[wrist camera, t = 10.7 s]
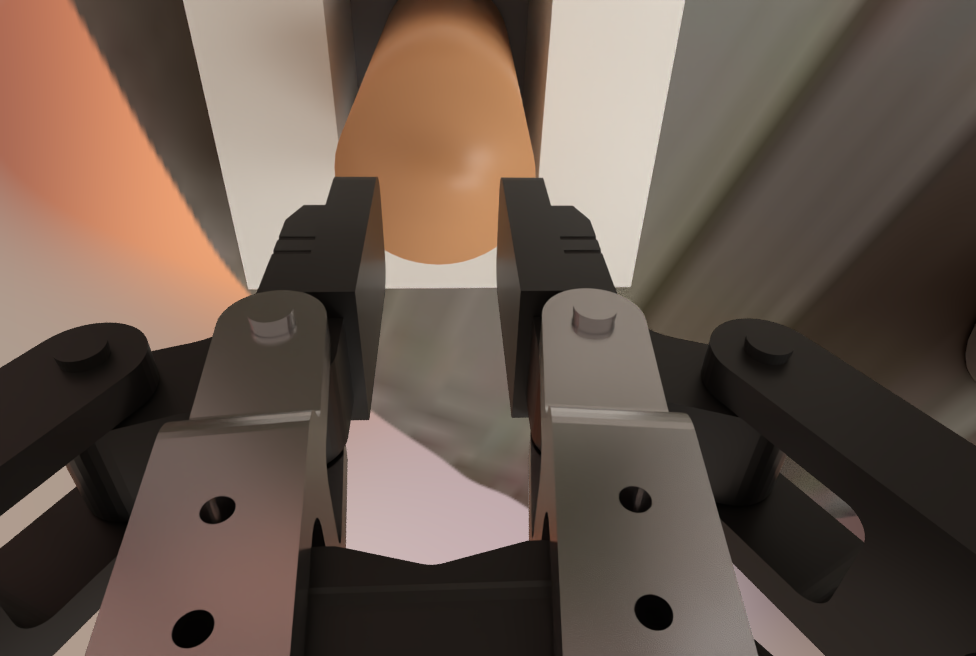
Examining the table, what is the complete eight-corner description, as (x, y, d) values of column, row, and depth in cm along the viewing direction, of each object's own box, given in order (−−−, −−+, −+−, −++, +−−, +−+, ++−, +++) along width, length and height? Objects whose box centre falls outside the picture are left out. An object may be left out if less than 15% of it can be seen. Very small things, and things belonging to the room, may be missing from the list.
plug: (510, -22, 20) (541, 76, 12) (507, 110, 23) (530, 263, 15) (377, -22, 20) (321, 76, 12) (388, 110, 22) (347, 265, 14)
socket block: (650, -185, 19) (720, -187, 14) (596, 201, 26) (630, 287, 21) (216, -201, 18) (135, -209, 13) (284, 201, 25) (248, 289, 21)
